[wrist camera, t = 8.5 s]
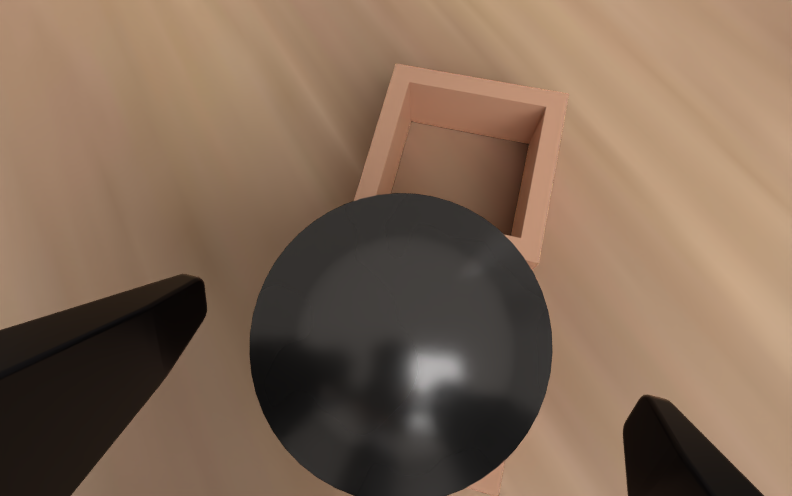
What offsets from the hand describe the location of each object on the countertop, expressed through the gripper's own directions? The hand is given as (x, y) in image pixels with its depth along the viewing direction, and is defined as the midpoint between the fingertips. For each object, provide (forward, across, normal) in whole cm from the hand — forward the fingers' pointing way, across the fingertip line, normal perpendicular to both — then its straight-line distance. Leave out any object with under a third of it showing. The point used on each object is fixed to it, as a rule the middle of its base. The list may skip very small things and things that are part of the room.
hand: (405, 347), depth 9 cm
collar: (+13, 0, +1) cm, 13 cm away
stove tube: (+7, 0, +7) cm, 9 cm away
